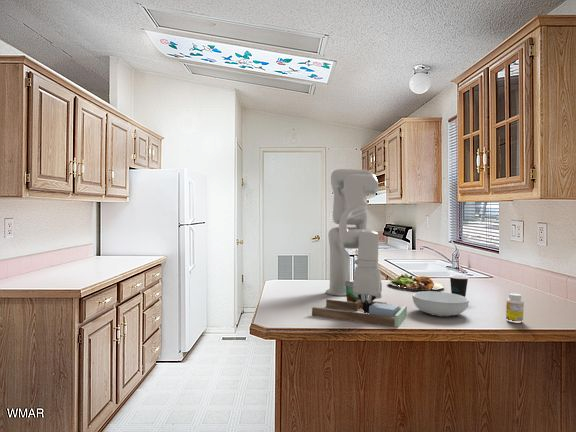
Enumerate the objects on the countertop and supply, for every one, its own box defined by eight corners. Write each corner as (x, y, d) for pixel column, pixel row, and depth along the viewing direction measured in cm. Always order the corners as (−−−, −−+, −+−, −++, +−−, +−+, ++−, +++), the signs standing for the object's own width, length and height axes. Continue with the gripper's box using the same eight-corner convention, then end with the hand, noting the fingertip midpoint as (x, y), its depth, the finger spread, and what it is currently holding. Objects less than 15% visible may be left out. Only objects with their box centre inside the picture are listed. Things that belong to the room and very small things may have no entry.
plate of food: (379, 283, 233) (379, 272, 232) (424, 281, 240) (424, 270, 240) (406, 295, 206) (406, 283, 205) (456, 292, 213) (456, 280, 213)
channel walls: (331, 303, 182) (332, 296, 182) (406, 312, 169) (406, 304, 169) (311, 315, 162) (312, 307, 162) (394, 326, 149) (394, 318, 149)
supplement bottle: (508, 319, 161) (508, 292, 160) (524, 322, 157) (525, 294, 157) (504, 322, 156) (505, 294, 156) (521, 325, 153) (522, 296, 153)
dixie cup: (466, 300, 193) (467, 275, 193) (469, 303, 185) (470, 278, 185) (447, 298, 195) (448, 274, 195) (449, 302, 187) (450, 277, 187)
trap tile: (361, 308, 175) (361, 307, 175) (381, 310, 171) (381, 310, 171) (358, 310, 170) (358, 310, 170) (378, 313, 167) (378, 312, 167)
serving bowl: (463, 324, 154) (463, 305, 153) (405, 315, 165) (405, 297, 165) (472, 312, 171) (473, 295, 171) (419, 305, 182) (420, 289, 182)
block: (375, 317, 162) (375, 302, 162) (399, 320, 157) (399, 305, 157) (368, 321, 156) (369, 306, 156) (393, 325, 151) (393, 309, 151)
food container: (352, 307, 176) (353, 283, 176) (344, 304, 182) (344, 280, 181) (376, 304, 182) (376, 281, 182) (367, 301, 187) (367, 278, 187)
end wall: (403, 315, 163) (403, 305, 163) (406, 316, 163) (406, 305, 163) (394, 326, 149) (394, 315, 148) (398, 327, 148) (398, 315, 148)
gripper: (345, 263, 160) (344, 312, 161) (385, 266, 154) (384, 317, 155) (351, 261, 167) (350, 308, 168) (390, 264, 161) (389, 312, 161)
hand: (367, 312), depth 161 cm, fingers closed
